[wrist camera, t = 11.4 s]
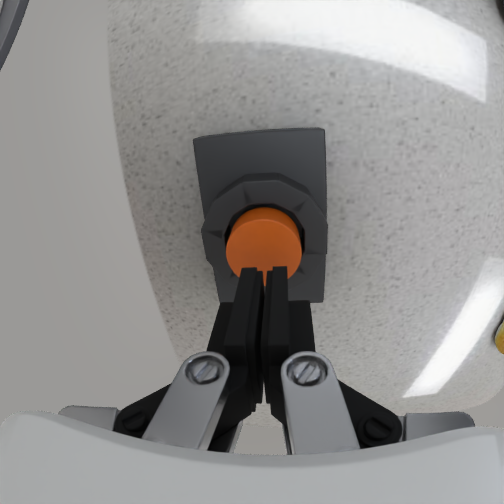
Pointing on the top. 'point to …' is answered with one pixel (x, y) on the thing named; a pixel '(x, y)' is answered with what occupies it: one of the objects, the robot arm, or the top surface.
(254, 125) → the top surface
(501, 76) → the top surface
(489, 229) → the top surface
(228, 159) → the control block
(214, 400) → the robot arm
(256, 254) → the button
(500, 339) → the bread roll
